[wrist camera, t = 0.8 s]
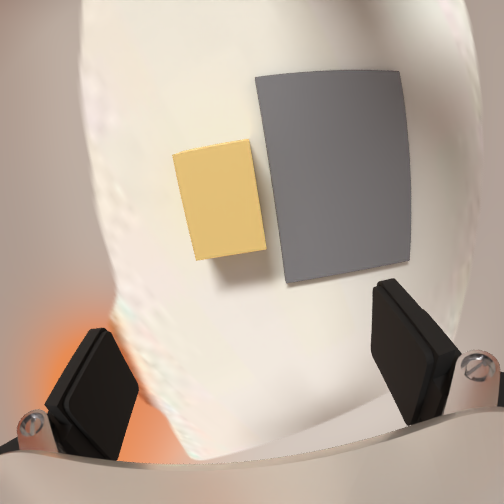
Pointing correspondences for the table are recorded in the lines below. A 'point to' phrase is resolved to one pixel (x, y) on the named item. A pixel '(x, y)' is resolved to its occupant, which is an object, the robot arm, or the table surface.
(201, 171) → the box
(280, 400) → the table surface
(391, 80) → the mat
